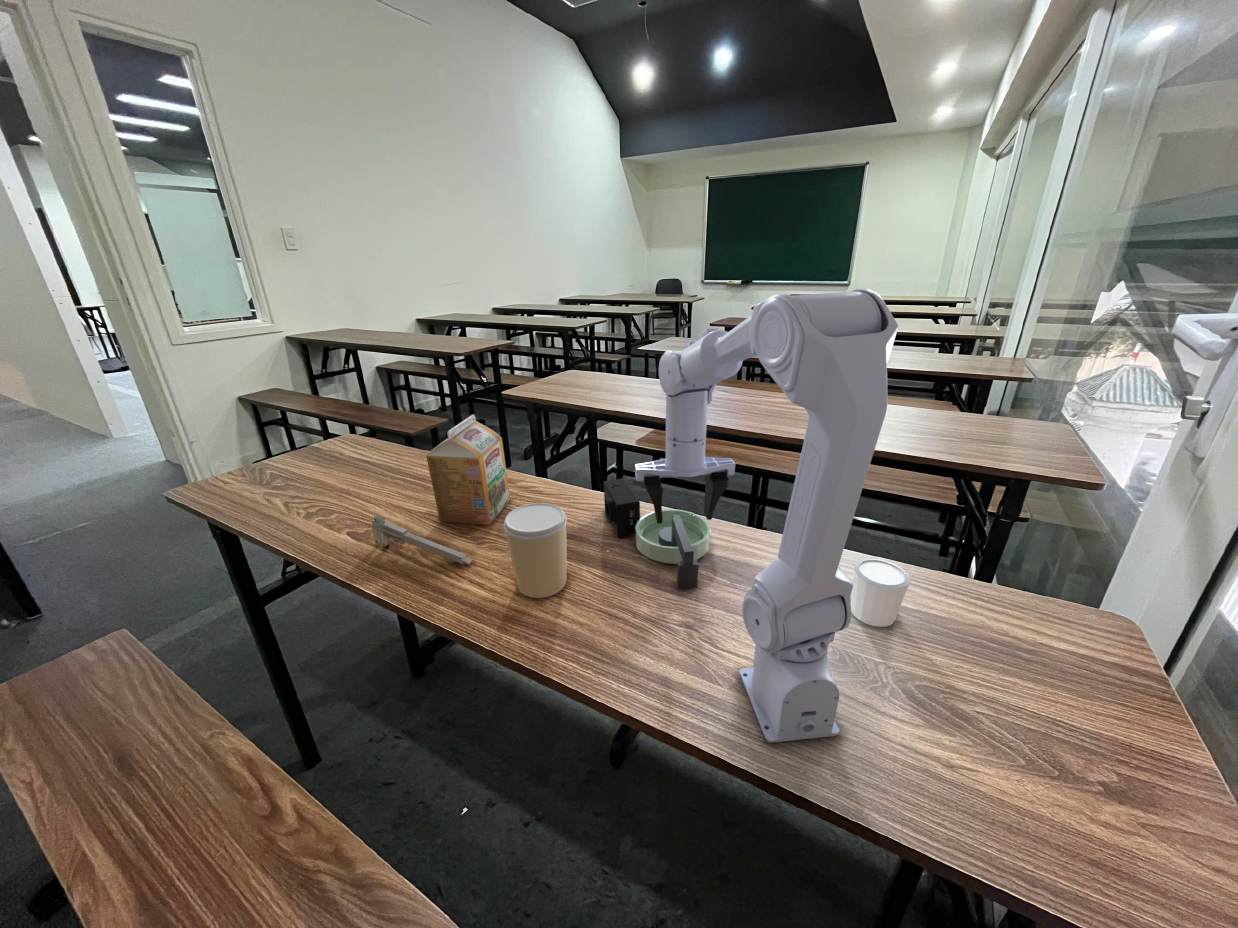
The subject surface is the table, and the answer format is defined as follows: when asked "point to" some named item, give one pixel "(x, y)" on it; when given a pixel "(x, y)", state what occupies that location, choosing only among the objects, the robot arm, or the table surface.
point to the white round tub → (878, 591)
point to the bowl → (650, 528)
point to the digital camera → (621, 507)
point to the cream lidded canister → (538, 548)
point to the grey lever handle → (681, 552)
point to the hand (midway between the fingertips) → (683, 518)
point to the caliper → (412, 540)
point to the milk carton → (469, 474)
